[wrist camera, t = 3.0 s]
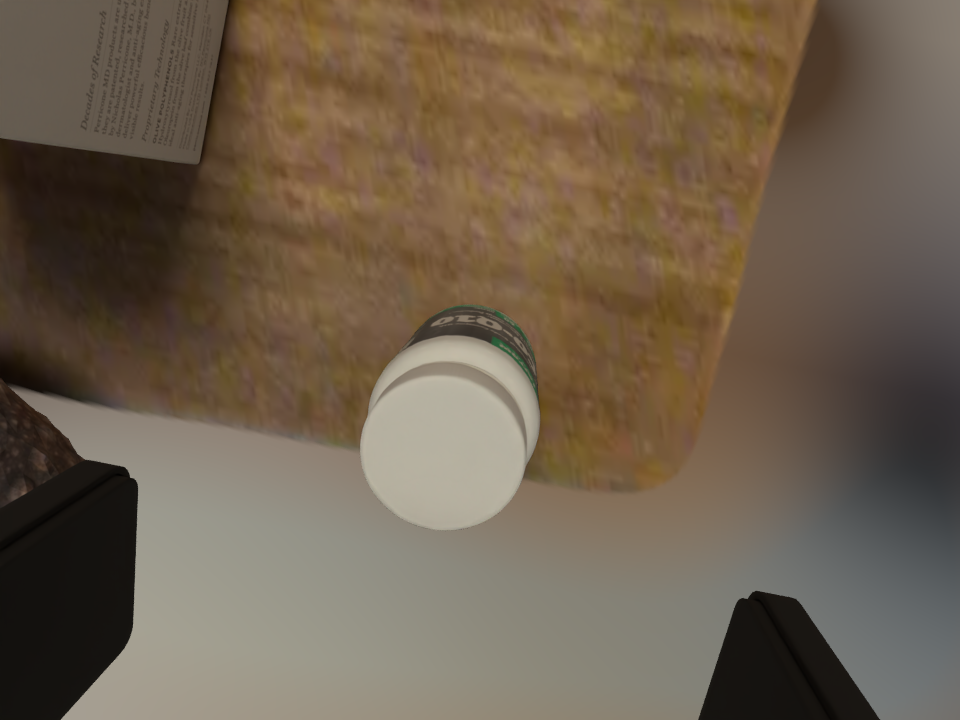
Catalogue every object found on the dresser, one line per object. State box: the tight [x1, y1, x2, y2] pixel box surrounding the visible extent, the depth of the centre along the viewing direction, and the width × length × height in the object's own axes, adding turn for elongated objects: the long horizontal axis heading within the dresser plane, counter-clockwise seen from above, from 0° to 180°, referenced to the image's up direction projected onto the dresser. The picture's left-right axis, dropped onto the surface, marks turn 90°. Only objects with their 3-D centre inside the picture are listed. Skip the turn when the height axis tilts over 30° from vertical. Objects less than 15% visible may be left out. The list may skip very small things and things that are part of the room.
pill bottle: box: [360, 305, 540, 531], centre depth 19 cm, size 5×5×8 cm
